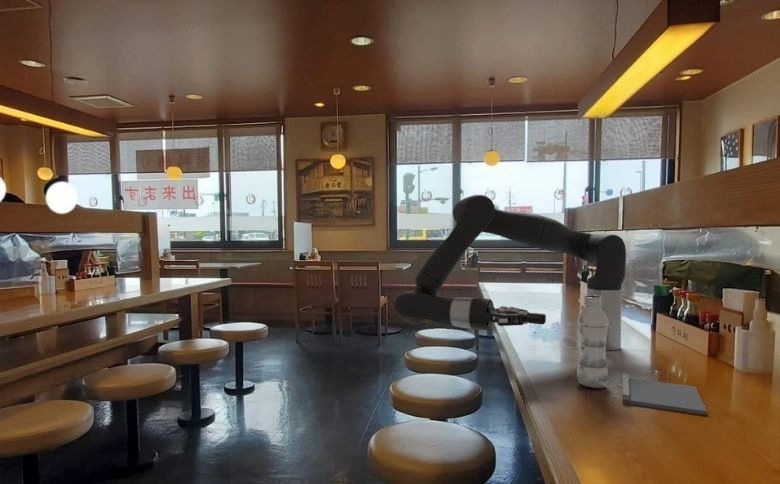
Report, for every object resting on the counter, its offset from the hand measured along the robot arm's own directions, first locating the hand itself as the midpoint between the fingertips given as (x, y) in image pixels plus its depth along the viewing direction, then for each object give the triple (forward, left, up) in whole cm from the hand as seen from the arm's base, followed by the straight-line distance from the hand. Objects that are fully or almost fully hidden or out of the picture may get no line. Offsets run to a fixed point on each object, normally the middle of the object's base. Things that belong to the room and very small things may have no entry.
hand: (545, 319), depth 107 cm
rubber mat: (0, +23, -14) cm, 27 cm away
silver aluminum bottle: (0, +10, -14) cm, 18 cm away
